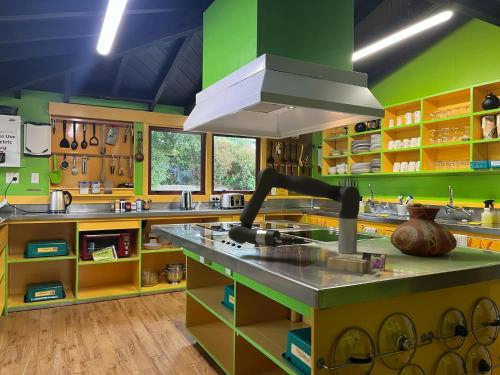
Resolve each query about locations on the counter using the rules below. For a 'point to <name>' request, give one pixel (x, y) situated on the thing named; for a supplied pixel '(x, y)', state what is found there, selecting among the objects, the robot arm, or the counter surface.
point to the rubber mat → (323, 267)
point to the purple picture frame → (376, 262)
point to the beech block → (348, 264)
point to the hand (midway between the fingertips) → (303, 241)
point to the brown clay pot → (423, 233)
